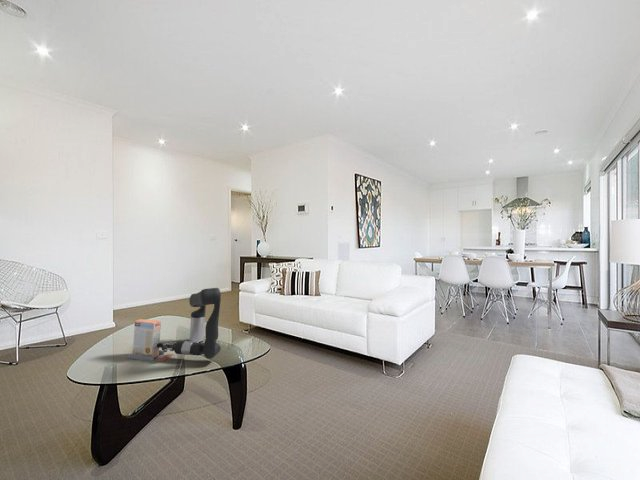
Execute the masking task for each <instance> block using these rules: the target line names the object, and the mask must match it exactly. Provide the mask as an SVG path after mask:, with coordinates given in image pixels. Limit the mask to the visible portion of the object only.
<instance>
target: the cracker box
mask: <svg viewBox="0 0 640 480" xmlns="http://www.w3.org/2000/svg"><path fill="white" fill-rule="evenodd" d="M161 327H162V321H160V320H154V319H145V318H140V319H136V320H134V330H133V342H132V344H133V346H132V354H133V355H143V356H153V357H154V359H155V358H157V357H159V356H160V354H159V350H160V348H158V347H157V344H158V343H161V329H162V328H161Z"/></svg>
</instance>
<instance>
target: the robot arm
mask: <svg viewBox="0 0 640 480" xmlns="http://www.w3.org/2000/svg"><path fill="white" fill-rule="evenodd" d="M221 295H222V293H221V290H220V288H218V287H211V288H203V289H201V290H200V291H199V292H196V293H191V294H190V296H189V300H188V302H189V305H190V306H191V308H198V309H196V310H194V311H191V313H190V324H189V325H190V327H189V340H188V341H187V340H181V339H180V340H176V341H175V340H174V341H168V342H160V343H158V344H157V347H158V348H159V349H161V351H164V352H165V353H167V352H168V351H170V352H174V353H175V354H176V355H182V356H183V355H185V356H201V355H203V356H204V358H206V359H207V360H211V359H213V358H215V357H216V356H217V355H219V354H220V351H221V345H220V344H219V343H217V340H218V339H219V317H220V311H221V298H222V297H221ZM207 305H213V311H212V313H211V314H210V316H209V318H208V320H207V321H206V309H207ZM203 339H205V340H204V342H201V343H197V342H200V341H202V340H203Z"/></svg>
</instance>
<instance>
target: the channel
mask: <svg viewBox="0 0 640 480" xmlns="http://www.w3.org/2000/svg"><path fill="white" fill-rule="evenodd" d="M165 353H166V352H164V351H163V350H162V349H159V355H162V356H165ZM126 356H127V357H126V359H135V360H143V361H154V360H155V358H154V357H153V356H143V355H133V353H128V354H127V355H126Z"/></svg>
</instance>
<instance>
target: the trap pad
mask: <svg viewBox="0 0 640 480" xmlns="http://www.w3.org/2000/svg"><path fill="white" fill-rule="evenodd" d="M174 355H175V354H174V353H166V354H164V355H162V357H159V358H157V359H156V360H155V361H156V362H165V361H166V360H168V359H169V358H171V357H173V356H174Z"/></svg>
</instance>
